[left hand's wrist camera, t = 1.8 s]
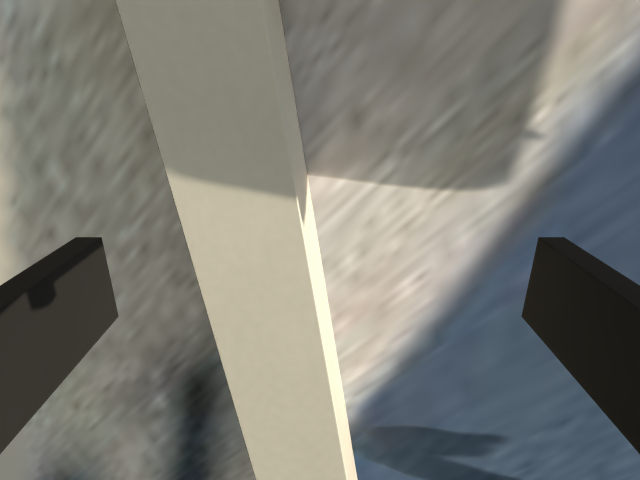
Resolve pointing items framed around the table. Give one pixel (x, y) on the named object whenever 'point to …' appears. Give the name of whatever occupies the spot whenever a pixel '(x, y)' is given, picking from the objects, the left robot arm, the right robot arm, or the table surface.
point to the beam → (247, 221)
